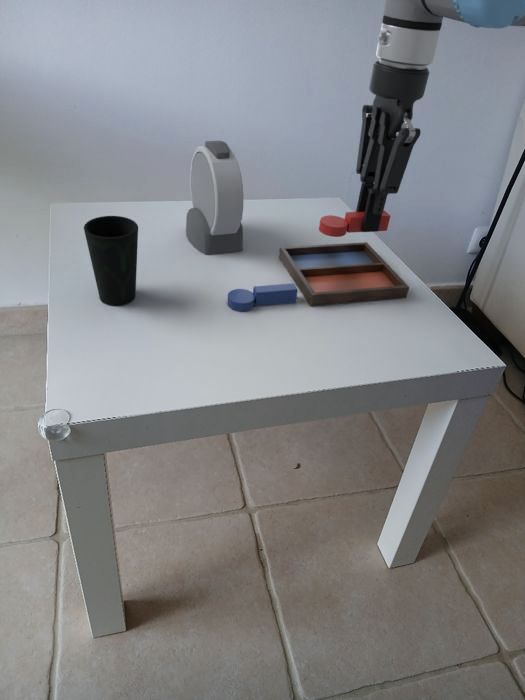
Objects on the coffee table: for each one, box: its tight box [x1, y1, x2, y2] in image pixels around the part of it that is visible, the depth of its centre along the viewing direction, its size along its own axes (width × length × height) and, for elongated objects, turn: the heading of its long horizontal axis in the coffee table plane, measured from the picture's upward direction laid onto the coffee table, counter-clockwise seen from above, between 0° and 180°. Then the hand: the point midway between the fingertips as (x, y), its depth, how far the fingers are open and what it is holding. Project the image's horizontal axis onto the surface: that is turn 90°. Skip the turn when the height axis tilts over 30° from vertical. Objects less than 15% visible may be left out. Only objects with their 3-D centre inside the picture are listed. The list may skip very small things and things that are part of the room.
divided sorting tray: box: [278, 241, 410, 307], centre depth 95 cm, size 18×17×2 cm
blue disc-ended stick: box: [226, 282, 299, 312], centre depth 86 cm, size 11×4×3 cm, turn 106°
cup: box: [83, 215, 139, 307], centre depth 80 cm, size 8×8×12 cm
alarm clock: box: [185, 140, 245, 256], centre depth 98 cm, size 16×10×18 cm, turn 23°
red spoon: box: [318, 210, 391, 238], centre depth 83 cm, size 11×4×3 cm, turn 107°
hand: (365, 226), depth 85 cm, fingers closed on red spoon, 2 cm apart
